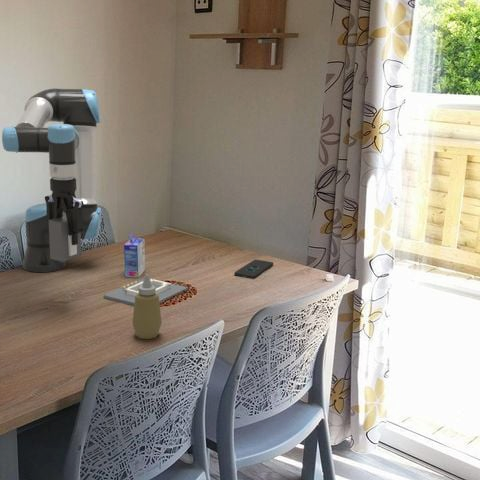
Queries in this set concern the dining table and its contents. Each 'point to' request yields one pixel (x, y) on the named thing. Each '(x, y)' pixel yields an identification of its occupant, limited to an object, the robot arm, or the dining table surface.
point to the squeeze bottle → (147, 311)
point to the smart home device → (253, 269)
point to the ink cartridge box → (134, 257)
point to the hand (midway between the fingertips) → (65, 253)
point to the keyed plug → (61, 240)
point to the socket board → (131, 290)
